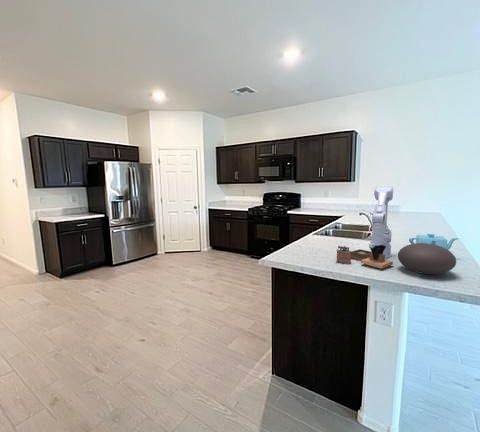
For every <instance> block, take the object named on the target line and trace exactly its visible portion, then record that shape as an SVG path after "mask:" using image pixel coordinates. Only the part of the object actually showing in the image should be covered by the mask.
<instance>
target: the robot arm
mask: <svg viewBox="0 0 480 432" xmlns="http://www.w3.org/2000/svg"><path fill="white" fill-rule="evenodd" d="M373 192H374V194H373V195H374V199H375V201H377V204H375V206H374V211H373V214H372V215H371V223H372V224H371V225H372V237H371V238H372V239H371V241H370V243H369V244H368V248H369V249H370V251H371V252H372V254H373V259H376V260H378V257H379V253H380V254H384V255H385V259H388V258H391V257H393V255H392V254H391V252H392V245H391V243H392V231H391V229H390V228H389V227H387V226H388V225H387V224H388V206H389V202H390V201H392V200H393V199H394V198H393V197H394V187H393V186H375V187H374V191H373Z"/></svg>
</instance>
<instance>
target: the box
mask: <svg viewBox="0 0 480 432" xmlns="http://www.w3.org/2000/svg"><path fill="white" fill-rule="evenodd" d="M350 251H351V250H350ZM371 252H372V251H371V250H366V249H360V248H359V249H355V250H352V251H351V260H354V261H358V262H361V260H363V259H366V258H369V257H370V253H371Z"/></svg>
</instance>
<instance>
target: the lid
mask: <svg viewBox="0 0 480 432" xmlns="http://www.w3.org/2000/svg"><path fill="white" fill-rule="evenodd" d="M360 263H361V264H367V265H370V266H374V267H378V268H381V269H382V268H385V267H388V266H390V265H391V266H394V265H393V264H394V261H392V260H388V259H386V258H385V255H384V254H380V253H379V257H378V260H376V259H373V254H372V251H371V253H370V257H369V258H366V259H363V260H361V261H360Z"/></svg>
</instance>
